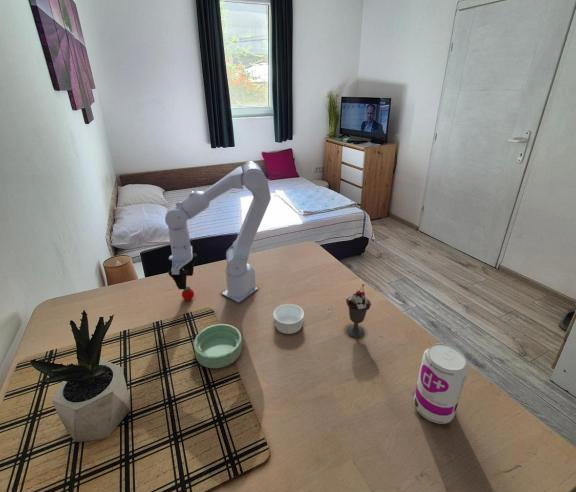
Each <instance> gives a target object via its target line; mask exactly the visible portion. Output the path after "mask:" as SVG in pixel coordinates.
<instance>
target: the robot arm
mask: <svg viewBox="0 0 576 492" xmlns="http://www.w3.org/2000/svg"><path fill="white" fill-rule="evenodd" d="M243 186H244V187H245V188H246V190H248V191H249V192H250V193H251V195H252V199H251V203H250V205H249V207H248V210H247V212H246V215H245V217H244V220H243V222H242V225H241V227H240V229H239V231H238V234H237V237H236V239H235V240H234V241H233V242H232V244H231V246H230V247H229V248H228V249H226V252H225V258H226V268H225V277H226V280H225V281H226V290H224V291H222V292H221V295H223V296H225V297H227V298H229V299H231V300H233V301H235V302H236V303H241V302H242V301H244V300H245V299H246V298H247V297H249V296H250V295H252V294H253V293H254V292H256V291H257V290H258V287H257V285H256V271H255V268H254V267H253V266H252V265H251V264H249V263H248V260H249V256H250V249H251V247H252V245H253V242H254V239H255V237H256V235H257V232H258V231H259V228H260V225H261V224H262V222H263V218H264V216H265V213H266V211H267V209H268V206H269V205H270V202H271V200H272V197H271V191H270V186H269V180H268V178H267V177H266V175H265V172H264V171H263V169H262V168H261V166H260V165H259V164H258V163H257V162H255V161H247V162H245V163H244V164H242V166H241V165H240V166H238V167H236V168H234V170H232V171H230V172H229V173H227V174H226V175H225V176H224V177H222V178H221V179H220V180H218V181H217V182H215V183H214V184H212V185H211V186H209V187H208V188H206V189H205V190H204V191H203V190H196V191H193V190H192V191H191V192H189V194H188V196H187V197H186V198H183V199H182V200H181V201H176V202H175V204H172V205H170V206H169V207H168V209H167V211H166V213H165V217H164V221H165V224H166V225H167V229H168V238H169V243H170V250H171V255H169V257H168V260H169V261H171V268H170V269H169V270H168V272H167V273H168V276H169V277H171V278H172V280H173V281H174V283H175V284H176V287H177V288H178V290H184V289H186V287H187V279H188V278H187V277H193V275H194V269H195V262H196V259H197V256H198V254H197V253H196V252H193V251H194V250H193V245H191V237H190V230H189V227H188V220H191V219H193V218H195V217H196V216H198V215H199V214H201V213H202V212H204V211H205V210H207V209H208V208H209V207H210V203H211V201H213V200H214V199H217V198H219V197H220V196H222V195H223V194H225V193H227V192H228V191H230V190H232V189H237V190H244V187H243Z"/></svg>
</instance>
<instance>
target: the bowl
mask: <svg viewBox="0 0 576 492" xmlns="http://www.w3.org/2000/svg"><path fill="white" fill-rule="evenodd" d="M193 348H194V349H193V350H194V356H195V359H196V361H197V363H198V364H199V365H201V366H202V367H205V368H208V369H220V368H225V367H227V366H229V365H231V364H233V363H235V362H236V361H237V360H238V359H239V358H240V355H241V354H242V351H243V340H242V334H241V331H240V330H239V329H238V328H237V327H235V326H234V325H232V324H227V323H218V324H213V325H210V326H207V327H204V328H203V329H202V330H201V331H199V332H198V334H197V335H196V336H195V338H194V341H193Z"/></svg>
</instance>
